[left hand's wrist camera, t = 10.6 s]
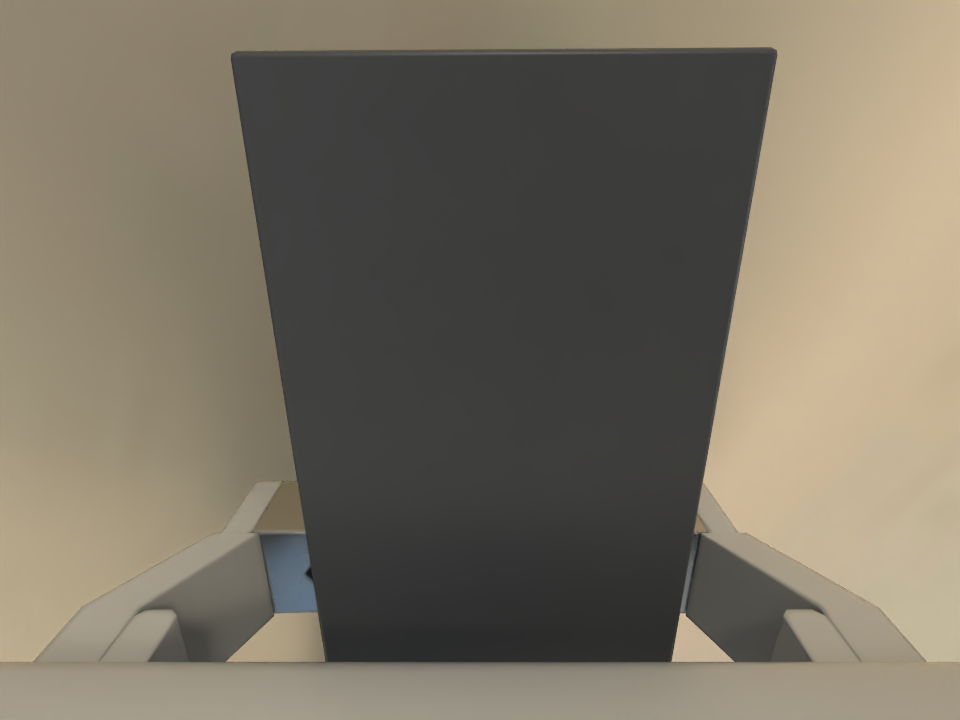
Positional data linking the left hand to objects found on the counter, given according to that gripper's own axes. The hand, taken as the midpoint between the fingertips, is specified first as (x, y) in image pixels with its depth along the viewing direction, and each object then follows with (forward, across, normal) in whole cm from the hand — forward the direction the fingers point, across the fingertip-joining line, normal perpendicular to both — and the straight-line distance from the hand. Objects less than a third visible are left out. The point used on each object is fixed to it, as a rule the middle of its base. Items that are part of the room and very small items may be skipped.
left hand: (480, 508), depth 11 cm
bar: (+5, 0, -33) cm, 33 cm away
